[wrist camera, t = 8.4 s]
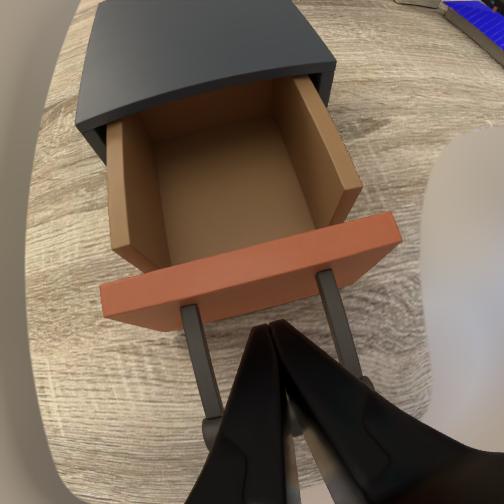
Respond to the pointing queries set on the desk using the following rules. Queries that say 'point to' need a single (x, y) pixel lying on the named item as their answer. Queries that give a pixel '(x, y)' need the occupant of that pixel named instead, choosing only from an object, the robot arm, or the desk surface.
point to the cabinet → (190, 55)
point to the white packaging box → (421, 2)
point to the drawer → (236, 217)
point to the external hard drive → (500, 0)
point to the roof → (479, 25)
